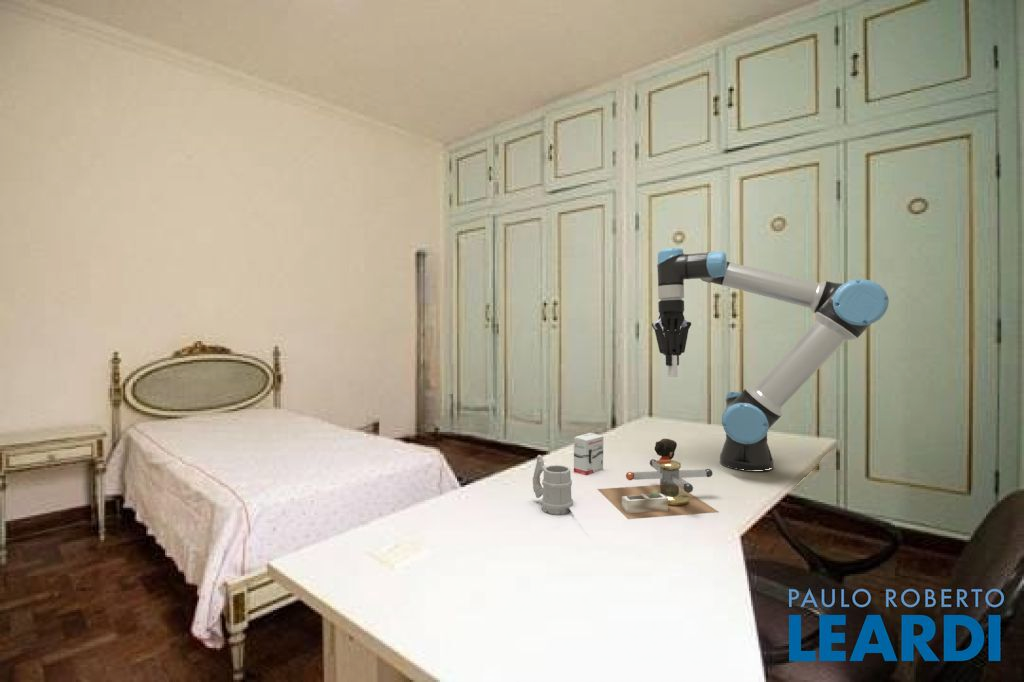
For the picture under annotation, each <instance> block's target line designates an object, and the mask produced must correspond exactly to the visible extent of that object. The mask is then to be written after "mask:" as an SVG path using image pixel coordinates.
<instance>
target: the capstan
mask: <svg viewBox="0 0 1024 682" xmlns="http://www.w3.org/2000/svg"><path fill="white" fill-rule="evenodd" d="M649 465H650V466H651V467H652V468H653V469H654V470H656V471H633V472H632V471H627V472H626V473H625V478H626V480H628V481H633V480H634V481H636V480H656V479H657V480H658V479H659V483H660V484H659V485H660V490H659V491H657V492H658V494H663V495H664V496H666V497H667V498H668V505H685V504H687V503H688V502H689V496H688V495H687V494H686V493H684V492H681V491H679V487H680V488H682V489H683V490H685V491H686V492H688V493H690V494H691V493H692V492H693V490H694V486H693V485H692V484H691V483H689V482H688V481H687V480H685V479H686V478H687V479H688V478H711V477H712V476H713V471H712V469H710V468H705V469H684V470H682V469H681V465H682V463H681V462H680V461H677V460H673V459H671V460H660V459H659V460H658V459H657V460H656V459H650V460H649ZM680 469H681V470H680Z"/></svg>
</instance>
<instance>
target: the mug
mask: <svg viewBox="0 0 1024 682" xmlns="http://www.w3.org/2000/svg"><path fill="white" fill-rule="evenodd" d="M542 473H543V478H542V482H541V477H540V476H541V475H542ZM572 482H573V480H572V478H571V468H570V467H569V466H565V465H561V464H554V465H553V464H551V465H547V466H546V465H545V462H544V458H543V456H542V455H541V454H538V455H537V456H536V464H535V468H534V472H533V477H532V489H533V493H534V494H535V497H536V498H537V499H539V498H541V497H542V498H541V501H540V503H541V506H542V511H543V512H545V513H548V514H550V515H556V516H557V515H558V516H559V515H567V514H569V513H571V512H572V510H571V509H570V508H571V507H573V505H574V501H573V500H574V499H572V484H573V483H572Z"/></svg>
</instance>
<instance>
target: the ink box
mask: <svg viewBox="0 0 1024 682" xmlns="http://www.w3.org/2000/svg"><path fill="white" fill-rule="evenodd" d="M603 470H604V436H603V435H601V434H597V433H593V432H588V433H584V434H581V435H576V436H574V438H573V473H576V474H580V475H583V476H589V475H592V474H594V473H597V472H600V471H603Z"/></svg>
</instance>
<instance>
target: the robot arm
mask: <svg viewBox="0 0 1024 682" xmlns="http://www.w3.org/2000/svg"><path fill="white" fill-rule="evenodd" d="M656 267H657V291H658V293H657V295H658V297H657V299H658V300H659V301H658V302H657V304H658V313H659V316H658V320H657V321H656V322H652V323H651V327H652V329H653V330H654V333H655V338H656V342H657V347H658V351H659V353H660V354H662V355H664V356H665V365H666V367H667V377H670V378H671V377H673V378H677V377H678V366H679V365H680V356H682V354H684V353H685V351H686V348H687V347H686V345H687V341H688V340H687V339H688V335H689V330H690V327H691V326H692V322H691V321H688V320H686V319H685V315H684V312H685V301H684V299H685V286H684V285H685V282H684V281H685V280H695V279H696V280H697V279H700V280H701V281H703V282H705V283H709V284H710V283H711V284H715V285H718V286H719V285H721V286H724V287H727V288H732V289H735V290H740V291H744V292H747V293H751V294H756V295H759V296H762V297H767V298H770V299H774V300H779V301H781V302H785V303H789V304H793V305H797V306H800V307H805V308H809V310H810V311H811V312H812V313H814V314H815V319H816V320H815V322H814V323H813V324H812V325H811V326H810V327H809V328H808V329H807V330H806V331H805V332H804V333H803V335H802V336H800V338H798V339H797V341H796V342H795V343H794V344H793V345H792V346H791V347H790V348H789V350H787V351H786V353H785V354H784V355H783V356H782V357H781V358H780V359H779V360H778V361H777V362H776V364H774V365H773V367H771V369H770V370H768V371H767V373H766V374H765V375H764V376H763V377H762V378H761V380H760V381H759V382H758V383H757V384H756V385H754V386H753V387H745V389H743V390H742V392H741V391H728V392H727V393H726V398H725V403H726V405H725V406H726V407H725V410H724V411H723V414H722V415H721V425H722V427H723V428H722V429H723V430H724V433H725V442H724V443H723V446H722V450H721V452H720V455H719V463H720V462H721V463H722V464H724V465H726V466H729V467H732V468H737V469H744V470H765V469H769V468H772V467H773V468H774V459H773V456H772V453H771V450H770V446H769V444H768V432H769V429H771V427H772V426H773V425H774V424H775V423H776V422H777V421H778V420H779V419H780V418H781V417H782V407H784V406H785V404H786V403H787V402H788V401H789V400H790V399H791V398H792V397H793V396H794V395H795V394H796V393H797V392H798V391H799V390H800V389H801V387H803V386H804V385H805V383H807V382H808V381H809V380H810V378H811V377H813V375H814V374H815V373H816V372H817V371H818V370H819V369H820V368H821V367H822V366H823V365H824V364H825V363H826V362H827V361H828V360H829V359H830V358H831V356H833V355H834V353H835V352H836V351H837V350H838V349H840V347H842V345H843V344H845V343H846V341H849V340H850V341H851V340H857V339H858V338H859V337H860V336H861V335H862V334H863V333H864V332H865V331H866V330H867V329H868V328H869V327H870V326H871V325H872V324H875V323H876V322H877V321H878V322H879V320H881V318H883V317H884V316H885V314H886V313H887V310H888V307H889V304H890V303H889V301H890V300H889V295H888V293H887V291H886V290H885V288H884V287H883V286H882V285H880V284H879V283H877V282H876V281H874V280H873V281H872V280H869V279H865V278H864V279H863V278H857V279H856V278H855V279H854V278H853V279H851V280H847V281H846V282H844V283H841V282H840V283H839V282H838V283H837V282H831V281H828V280H827V281H826V280H824V281H821V282H815V281H812V280H807V279H803V278H799V277H794V276H791V275H786V274H782V273H778V272H773V271H769V270H764V269H761V268H756V267H753V266H748V265H744V264H739V263H735V262H732V261H731V262H730V261H727V254H726V252H724V251H715V250H714V251H709V252H700V253H689V254H687V253H684V249H682V248H680V247H674V248H672V247H671V248H663V249H660V250H659V251H658V254H657V264H656ZM721 463H720V464H721ZM722 464H721V465H722ZM724 465H723V466H724ZM726 466H725V467H726ZM729 467H728V468H729ZM732 468H731V469H732ZM737 469H736V470H737Z"/></svg>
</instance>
